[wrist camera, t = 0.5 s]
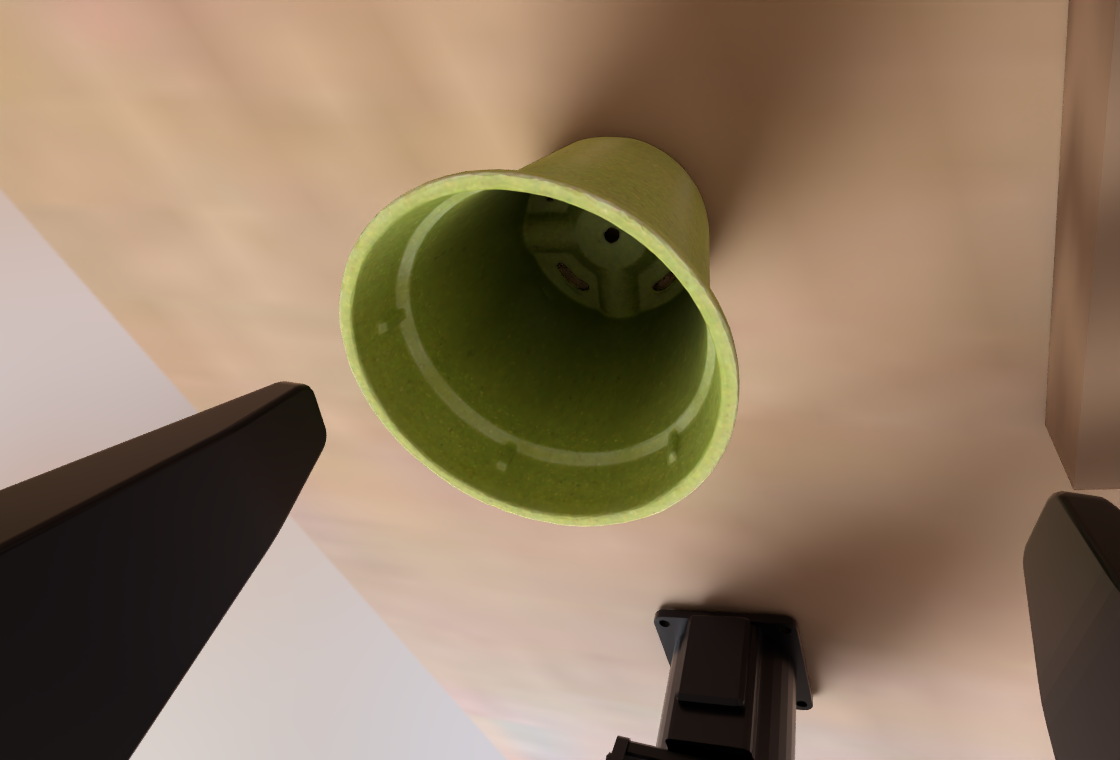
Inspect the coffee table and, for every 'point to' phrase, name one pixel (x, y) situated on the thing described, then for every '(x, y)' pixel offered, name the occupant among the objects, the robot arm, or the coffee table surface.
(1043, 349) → the coffee table surface
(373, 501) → the coffee table surface
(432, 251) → the plant pot
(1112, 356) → the walnut base
